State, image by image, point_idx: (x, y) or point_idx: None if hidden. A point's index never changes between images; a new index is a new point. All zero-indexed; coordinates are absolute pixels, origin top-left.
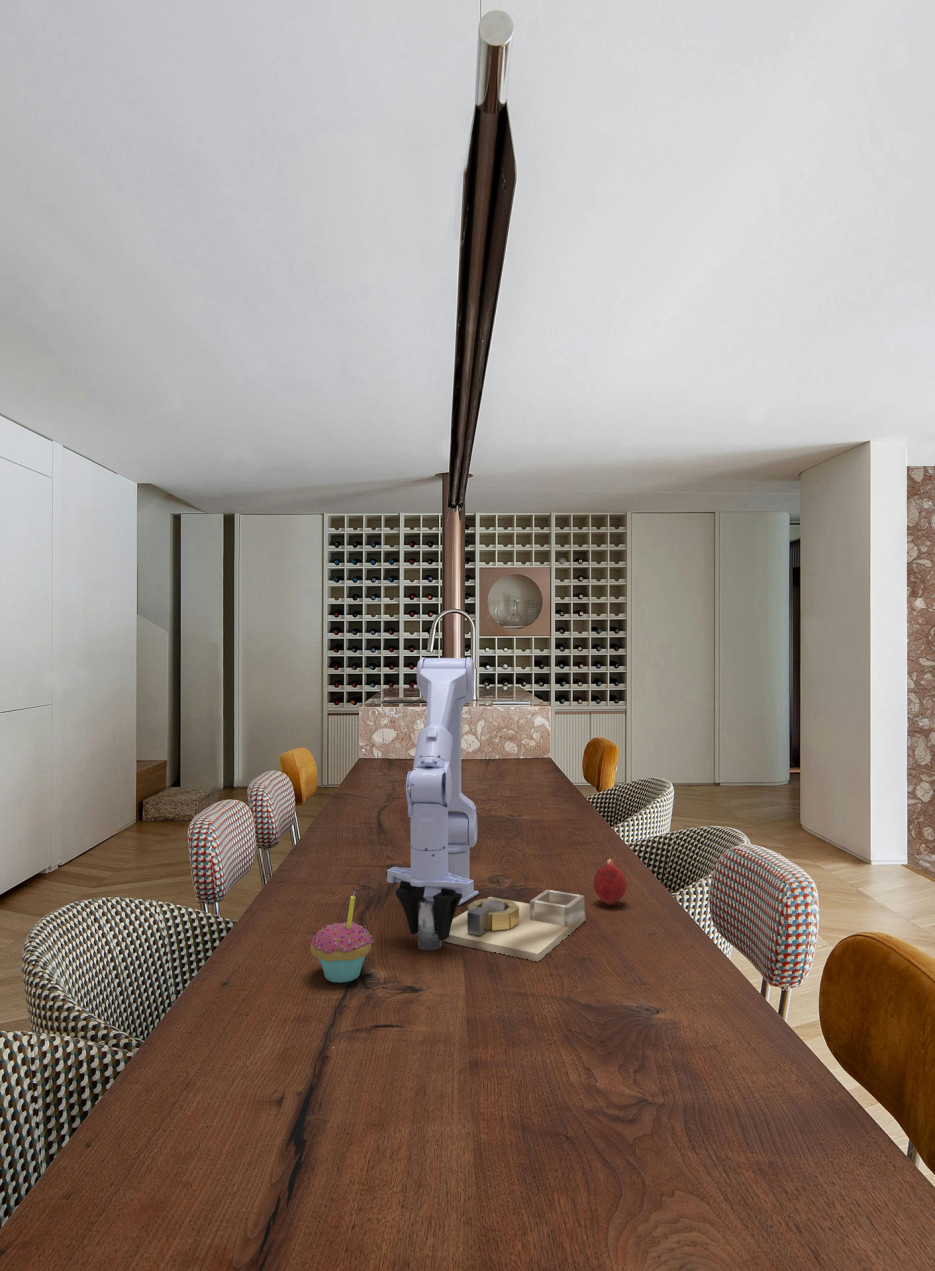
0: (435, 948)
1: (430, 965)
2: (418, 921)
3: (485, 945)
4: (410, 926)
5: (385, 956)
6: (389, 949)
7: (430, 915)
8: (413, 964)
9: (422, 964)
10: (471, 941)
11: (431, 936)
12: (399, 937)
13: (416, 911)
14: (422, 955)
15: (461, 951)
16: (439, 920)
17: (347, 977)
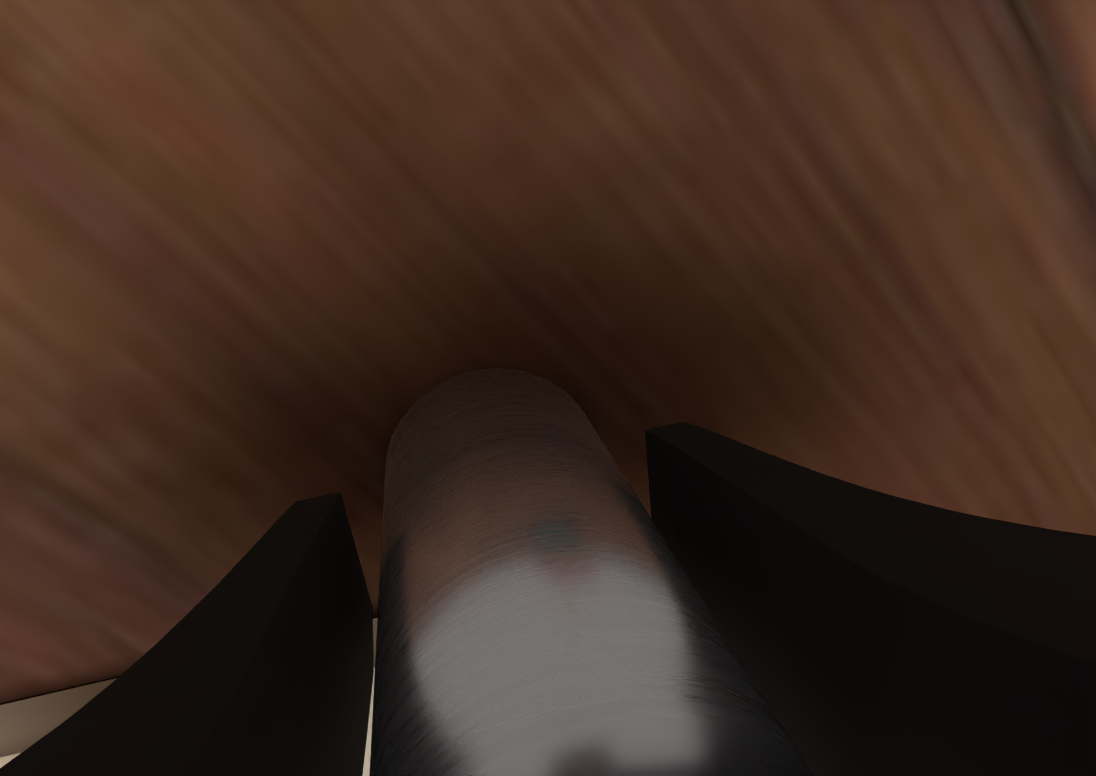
0: (390, 447)
1: (122, 124)
2: (617, 503)
3: (2, 738)
4: (707, 442)
5: (676, 15)
6: (744, 183)
7: (422, 627)
8: (290, 26)
9: (213, 90)
10: None
11: (410, 471)
12: (816, 431)
13: (765, 630)
14: (393, 273)
15: (180, 562)
16: (226, 626)
17: None
